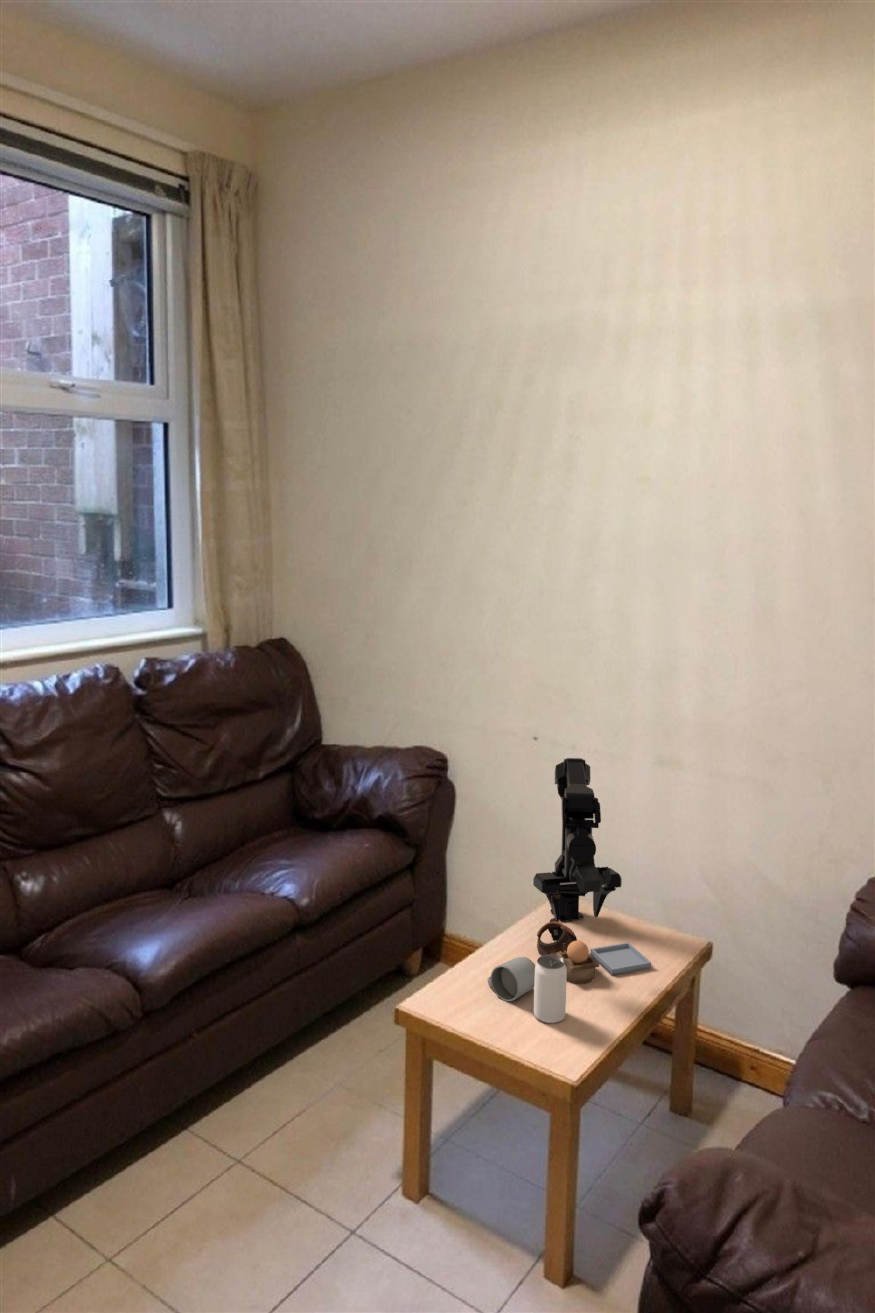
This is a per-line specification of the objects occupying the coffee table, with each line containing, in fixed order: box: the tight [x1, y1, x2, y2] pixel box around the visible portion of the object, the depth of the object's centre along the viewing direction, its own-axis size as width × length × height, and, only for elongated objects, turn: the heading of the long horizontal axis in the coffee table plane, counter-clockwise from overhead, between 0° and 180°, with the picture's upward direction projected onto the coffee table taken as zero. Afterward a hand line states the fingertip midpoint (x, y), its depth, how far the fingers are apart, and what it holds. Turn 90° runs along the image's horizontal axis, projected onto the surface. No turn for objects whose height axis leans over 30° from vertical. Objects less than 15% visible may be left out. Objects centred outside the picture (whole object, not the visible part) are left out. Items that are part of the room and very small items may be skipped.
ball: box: [566, 940, 590, 963], centre depth 207 cm, size 5×5×5 cm
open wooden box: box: [555, 951, 600, 985], centre depth 207 cm, size 8×8×4 cm
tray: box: [589, 941, 652, 977], centre depth 213 cm, size 10×10×2 cm
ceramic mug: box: [487, 956, 536, 1003], centre depth 200 cm, size 11×8×8 cm
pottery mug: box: [536, 917, 578, 955], centre depth 218 cm, size 12×10×8 cm
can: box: [533, 954, 567, 1025], centre depth 190 cm, size 6×6×12 cm
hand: (576, 918), depth 205 cm, fingers open, 9 cm apart
